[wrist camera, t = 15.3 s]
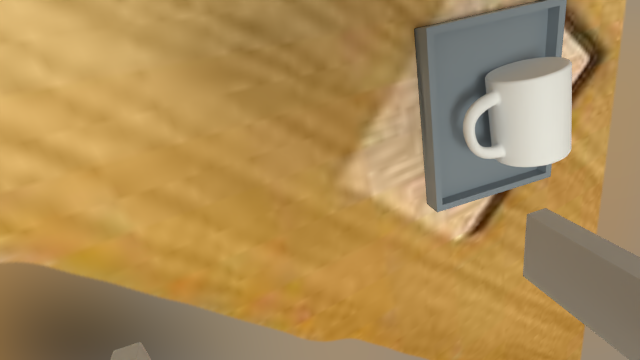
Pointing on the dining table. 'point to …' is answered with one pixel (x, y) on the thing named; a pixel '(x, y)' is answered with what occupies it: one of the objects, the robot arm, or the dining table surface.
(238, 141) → the dining table surface
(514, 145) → the mug
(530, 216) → the robot arm
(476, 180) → the tray
